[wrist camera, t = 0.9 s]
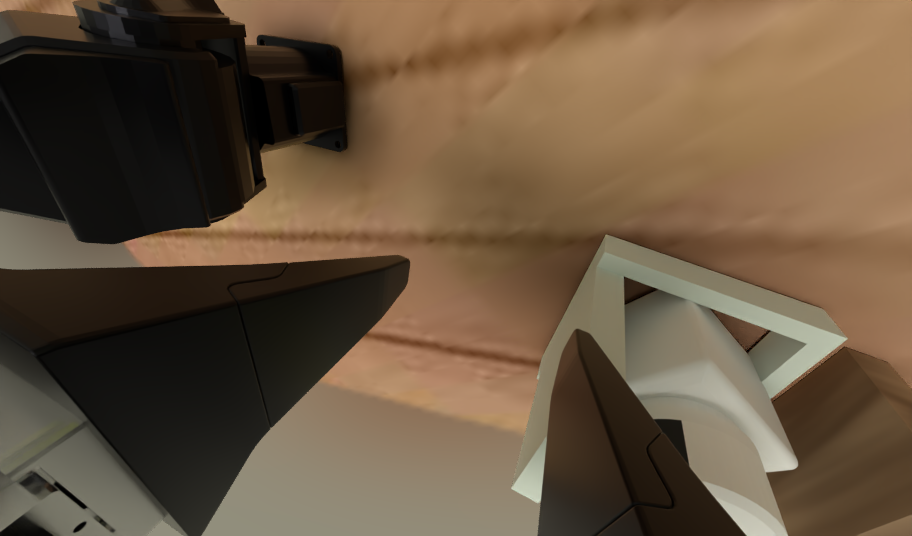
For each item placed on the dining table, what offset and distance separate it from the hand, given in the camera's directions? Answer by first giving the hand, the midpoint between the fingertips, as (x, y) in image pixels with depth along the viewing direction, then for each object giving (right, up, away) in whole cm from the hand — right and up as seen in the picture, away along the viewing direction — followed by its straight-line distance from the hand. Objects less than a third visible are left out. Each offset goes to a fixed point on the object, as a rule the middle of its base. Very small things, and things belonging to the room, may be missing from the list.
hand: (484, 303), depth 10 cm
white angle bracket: (+13, -4, +13) cm, 18 cm away
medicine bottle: (+13, -4, +13) cm, 18 cm away
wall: (+21, -7, +11) cm, 24 cm away
